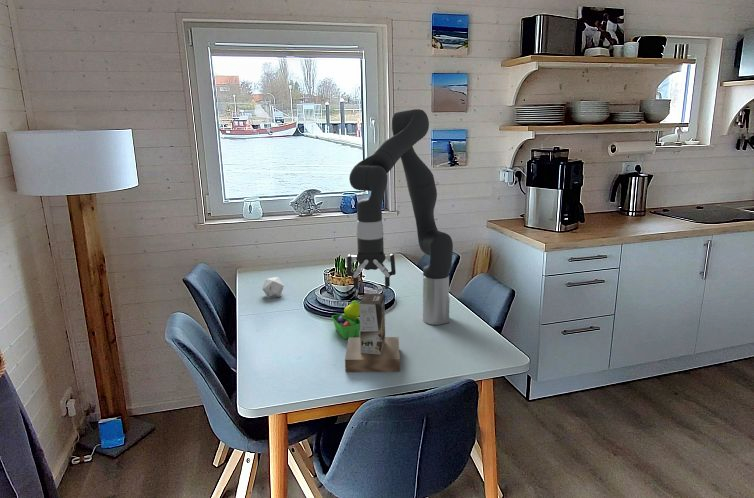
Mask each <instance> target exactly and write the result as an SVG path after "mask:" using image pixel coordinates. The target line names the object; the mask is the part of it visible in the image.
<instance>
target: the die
mask: <svg viewBox="0 0 754 498" xmlns="http://www.w3.org/2000/svg"><path fill="white" fill-rule="evenodd" d="M283 290H284V284H283V282H282V281H281V280H280V278H279V277H278V276H275V277H268V278H265V280H264V284H263V286H262V291H263V292H264V294H265V296H266V297H267V298H268V299H273V298H279V297H282V296H281V295H282V292H283Z"/></svg>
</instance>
